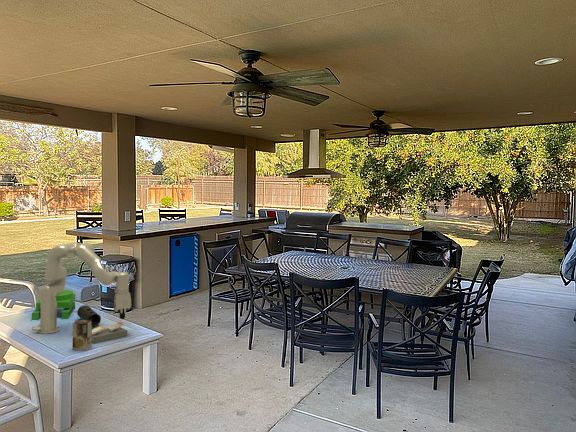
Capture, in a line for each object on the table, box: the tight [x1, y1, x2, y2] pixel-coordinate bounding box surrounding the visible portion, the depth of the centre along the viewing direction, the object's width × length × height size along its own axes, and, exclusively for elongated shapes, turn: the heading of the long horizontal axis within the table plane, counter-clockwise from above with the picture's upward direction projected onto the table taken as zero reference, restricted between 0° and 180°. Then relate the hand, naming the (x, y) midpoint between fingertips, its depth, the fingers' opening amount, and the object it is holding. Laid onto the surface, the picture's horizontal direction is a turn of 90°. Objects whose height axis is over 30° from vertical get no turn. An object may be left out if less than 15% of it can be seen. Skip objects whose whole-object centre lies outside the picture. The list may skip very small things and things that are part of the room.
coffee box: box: [72, 319, 93, 351], centre depth 258 cm, size 9×6×16 cm
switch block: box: [92, 326, 128, 345], centre depth 278 cm, size 22×12×5 cm, turn 138°
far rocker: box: [106, 321, 125, 331], centre depth 283 cm, size 9×5×1 cm, turn 138°
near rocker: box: [92, 324, 107, 335], centre depth 274 cm, size 9×5×1 cm, turn 138°
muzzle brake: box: [76, 304, 102, 328], centre depth 308 cm, size 10×28×10 cm, turn 39°
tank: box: [31, 289, 76, 321], centre depth 323 cm, size 24×35×16 cm
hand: (122, 318), depth 285 cm, fingers closed
